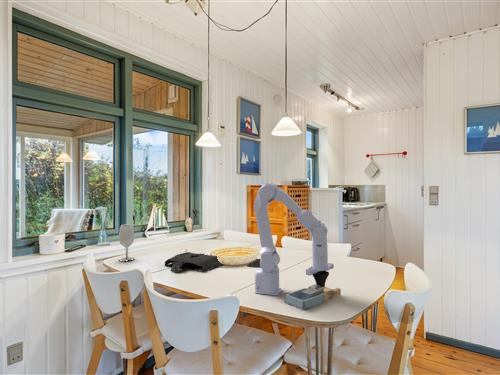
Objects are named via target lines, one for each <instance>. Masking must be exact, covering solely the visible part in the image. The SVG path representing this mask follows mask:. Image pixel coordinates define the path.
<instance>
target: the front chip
mask: <svg viewBox="0 0 500 375" xmlns="http://www.w3.org/2000/svg"><path fill="white" fill-rule="evenodd" d="M315 296H317V292H315V291H312V290H309V289H307V290H304V291H302V292H301V300H307V299H309V298H312V297H315Z"/></svg>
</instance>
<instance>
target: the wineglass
mask: <svg viewBox="0 0 500 375" xmlns="http://www.w3.org/2000/svg"><path fill="white" fill-rule="evenodd" d="M118 232H119V233H118V240H119V244H120V245H121V246H122V247H124V249H125V257H121V258H119V259H118V261H119V260H122V261H121V262H124V261H126V260H132V259H134V260H136V258H135V257H134V256H129V248H130V247H131V245H133V244H134V240H135V232H134V227H133V224H130V223H129V224H126V223H125V224H121V225H120V227H119V231H118ZM132 261H133V260H132ZM126 262H127V261H126Z"/></svg>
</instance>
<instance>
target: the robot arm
mask: <svg viewBox="0 0 500 375" xmlns="http://www.w3.org/2000/svg"><path fill="white" fill-rule="evenodd" d="M272 201H276V202H281V203H282V204H284V206H286V207H287V208H288V209H289V210H290V211H291V212H292V213H293V214H295V215H296V221H297V222H298V223H300V224H301V226H303V228H305V229H306V230H307V232H310V235H311V238H312V244H311V245H312V246H311V247H312V249H311V250H312V251H311V252H312V265H311V266H310V267H308V268H307V269H305V275H306V276H309V277H310V276H312V277H313V279H314V280H315V284H317V285H320V286H323V287H324V286H325V287H326V281H327V279H328V277H329V275H330V272H329V271H330V270H333V269H335V268H334V267H335V265H334V263H332V262H328V257H329V256H328V255H329V254H328V237H327V236H328V227H327V226H326V224H325V223H323V222H322V220H321V219H319V220H318V218H316V217H315V216H314V214H313V212H312V211H311V210H310V211H309V209H302V208H301V207H300V206H299V205H298V203H297V202H296V201H294V199H293V198H292V197H291V196H290V195H289V194H288V193H287V192H286V191H285V190H284V189H283V188H282V187H279V185H277V184H276V183H264V184H262V185H261V187H260V188H258V190H257V194H256V197H255V199H254V202H253V210H254V214H255V215H254V216H255V220H256V225H257V230H258V235H259V241H260V242H259V243H260V247H261V248H260V253H259V254H260V259H261V260H260V266H261V267H260V268H256V271H255V276H254V278H255V280H254V281H255V282H254V284H255V286H254V288H255V290H254V293H255V294H262V295H268V296H269V295H270V296H278V295H279V294H280V293H281V292H282V290H283V288H282V287H280V268H279V266H278V265H279V264H280V261H281V257H280V255H279V253H278V252H277V248H276V247H275V245H274V240H273V235H272V228H271V224H270V218H269V213H268V207H269V205H270V204H271V203H272Z"/></svg>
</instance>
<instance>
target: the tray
mask: <svg viewBox="0 0 500 375" xmlns="http://www.w3.org/2000/svg"><path fill="white" fill-rule="evenodd" d="M306 288H307V287H304V288H301V289H297V290H295V291H292V292H288V293H285V295H284V303H285V304H288V305H289V306H292V307H295V308H296V309H297V308H298V309H300V310H302V311H306V310H307V309H310V308H313V307H315V306H319V305H321V304H323V303H325V302H324V294H320V295H318V296H315V297H312V298H309V299H307V300H301V292H302V291H304V290H306Z"/></svg>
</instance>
